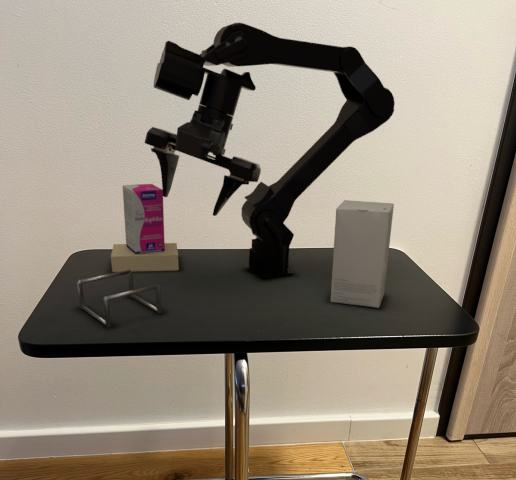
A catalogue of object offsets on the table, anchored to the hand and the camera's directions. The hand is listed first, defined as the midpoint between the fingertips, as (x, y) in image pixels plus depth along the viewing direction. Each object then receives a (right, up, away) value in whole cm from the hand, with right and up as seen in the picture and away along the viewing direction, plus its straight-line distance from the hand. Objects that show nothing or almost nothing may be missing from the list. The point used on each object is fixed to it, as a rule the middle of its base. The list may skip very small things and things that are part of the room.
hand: (189, 206), depth 91 cm
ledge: (-10, -8, +12) cm, 17 cm away
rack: (-9, -18, -9) cm, 22 cm away
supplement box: (-10, -6, +10) cm, 15 cm away
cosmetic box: (+28, -16, -2) cm, 32 cm away
